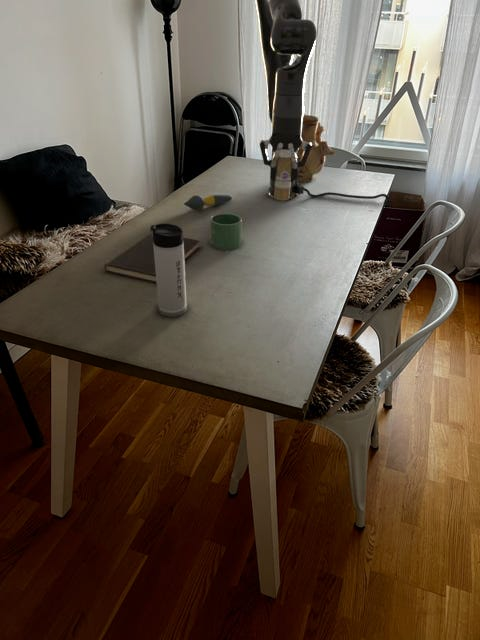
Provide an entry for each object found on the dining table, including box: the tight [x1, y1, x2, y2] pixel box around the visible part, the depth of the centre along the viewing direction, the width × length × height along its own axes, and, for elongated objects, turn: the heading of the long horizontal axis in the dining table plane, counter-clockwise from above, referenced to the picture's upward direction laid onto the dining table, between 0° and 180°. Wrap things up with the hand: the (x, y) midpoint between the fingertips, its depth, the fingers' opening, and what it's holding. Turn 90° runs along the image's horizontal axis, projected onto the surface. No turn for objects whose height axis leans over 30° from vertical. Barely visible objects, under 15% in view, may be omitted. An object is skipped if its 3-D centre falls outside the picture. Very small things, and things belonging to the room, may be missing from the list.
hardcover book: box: [104, 231, 201, 284], centre depth 126 cm, size 16×23×2 cm
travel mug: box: [149, 223, 188, 318], centre depth 100 cm, size 6×7×20 cm
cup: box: [209, 212, 243, 251], centre depth 134 cm, size 9×9×8 cm
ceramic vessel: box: [297, 114, 335, 182], centre depth 183 cm, size 18×19×25 cm
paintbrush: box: [183, 193, 233, 211], centre depth 160 cm, size 20×5×5 cm, turn 134°
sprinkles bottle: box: [273, 149, 293, 201], centre depth 126 cm, size 5×5×13 cm
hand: (282, 180), depth 127 cm, fingers closed on sprinkles bottle, 4 cm apart
